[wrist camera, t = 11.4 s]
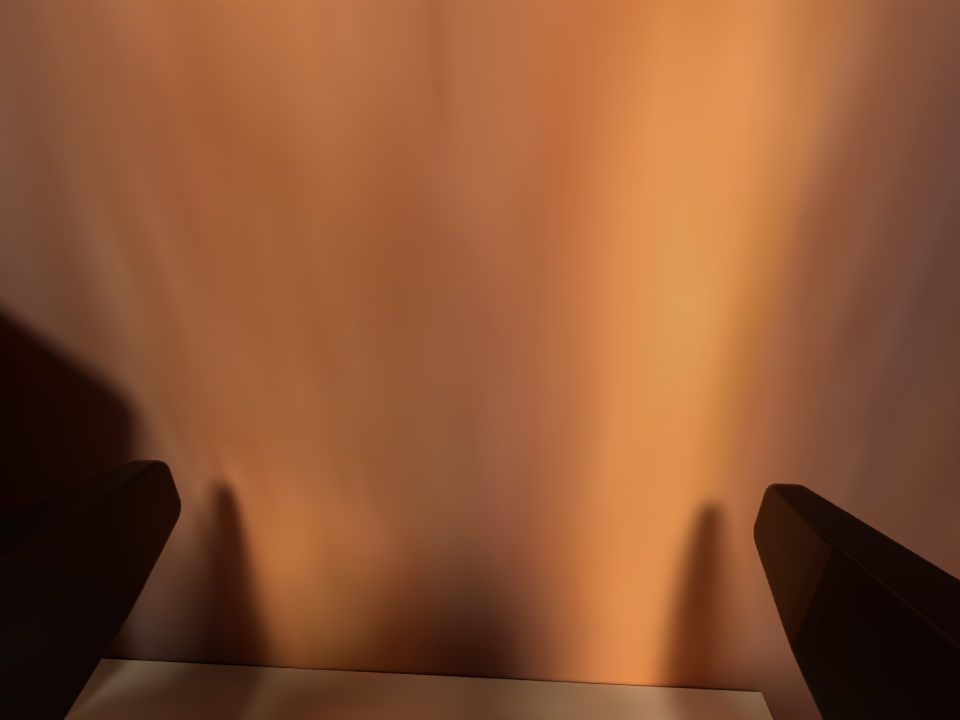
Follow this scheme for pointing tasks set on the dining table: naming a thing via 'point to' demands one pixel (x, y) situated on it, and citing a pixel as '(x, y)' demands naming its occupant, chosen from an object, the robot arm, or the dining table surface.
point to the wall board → (381, 696)
